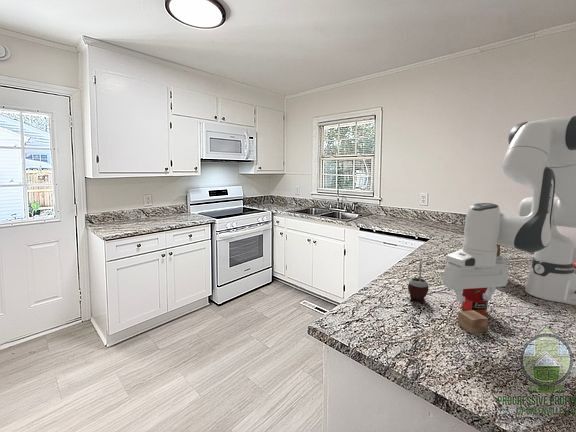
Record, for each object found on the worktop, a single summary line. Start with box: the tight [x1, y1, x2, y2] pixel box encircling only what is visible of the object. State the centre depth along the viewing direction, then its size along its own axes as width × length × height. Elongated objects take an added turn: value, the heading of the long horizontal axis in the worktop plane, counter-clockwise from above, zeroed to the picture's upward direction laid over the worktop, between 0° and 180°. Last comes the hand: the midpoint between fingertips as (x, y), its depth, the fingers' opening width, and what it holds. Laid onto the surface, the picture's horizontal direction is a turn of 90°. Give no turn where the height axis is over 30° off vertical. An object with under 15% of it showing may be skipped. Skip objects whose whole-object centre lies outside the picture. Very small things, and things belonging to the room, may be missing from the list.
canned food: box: [460, 287, 489, 316], centre depth 104 cm, size 8×8×11 cm
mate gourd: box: [407, 258, 429, 305], centre depth 113 cm, size 8×8×15 cm
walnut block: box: [457, 310, 489, 334], centre depth 93 cm, size 6×6×4 cm
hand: (473, 300), depth 92 cm, fingers open, 8 cm apart
